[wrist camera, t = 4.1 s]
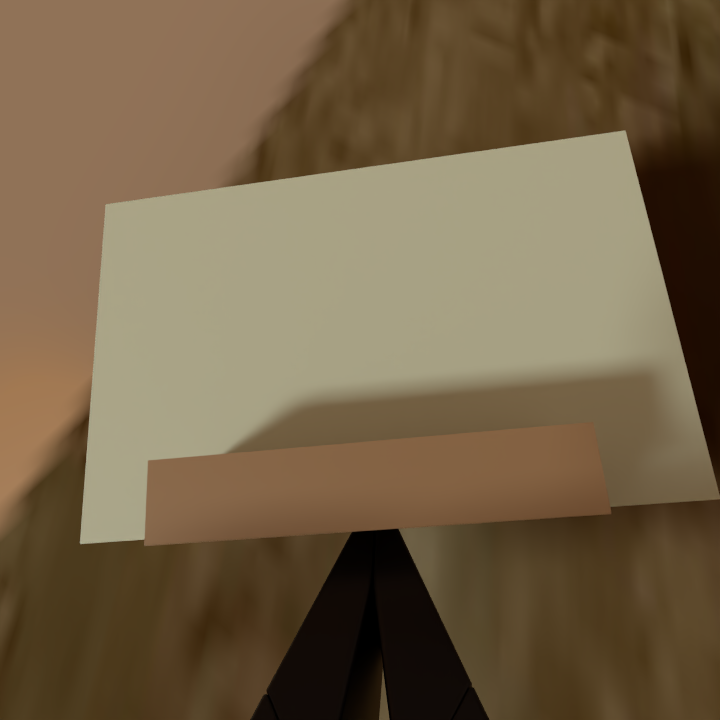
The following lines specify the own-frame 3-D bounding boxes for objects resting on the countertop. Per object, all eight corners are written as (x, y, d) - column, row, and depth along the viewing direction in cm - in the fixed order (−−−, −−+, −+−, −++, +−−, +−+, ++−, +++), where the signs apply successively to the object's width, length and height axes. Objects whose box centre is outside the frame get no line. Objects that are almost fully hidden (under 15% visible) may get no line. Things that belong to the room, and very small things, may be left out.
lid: (694, 498, 11) (812, 500, 8) (106, 540, 13) (-10, 556, 9) (611, 156, 14) (672, 45, 10) (126, 223, 15) (39, 144, 12)
